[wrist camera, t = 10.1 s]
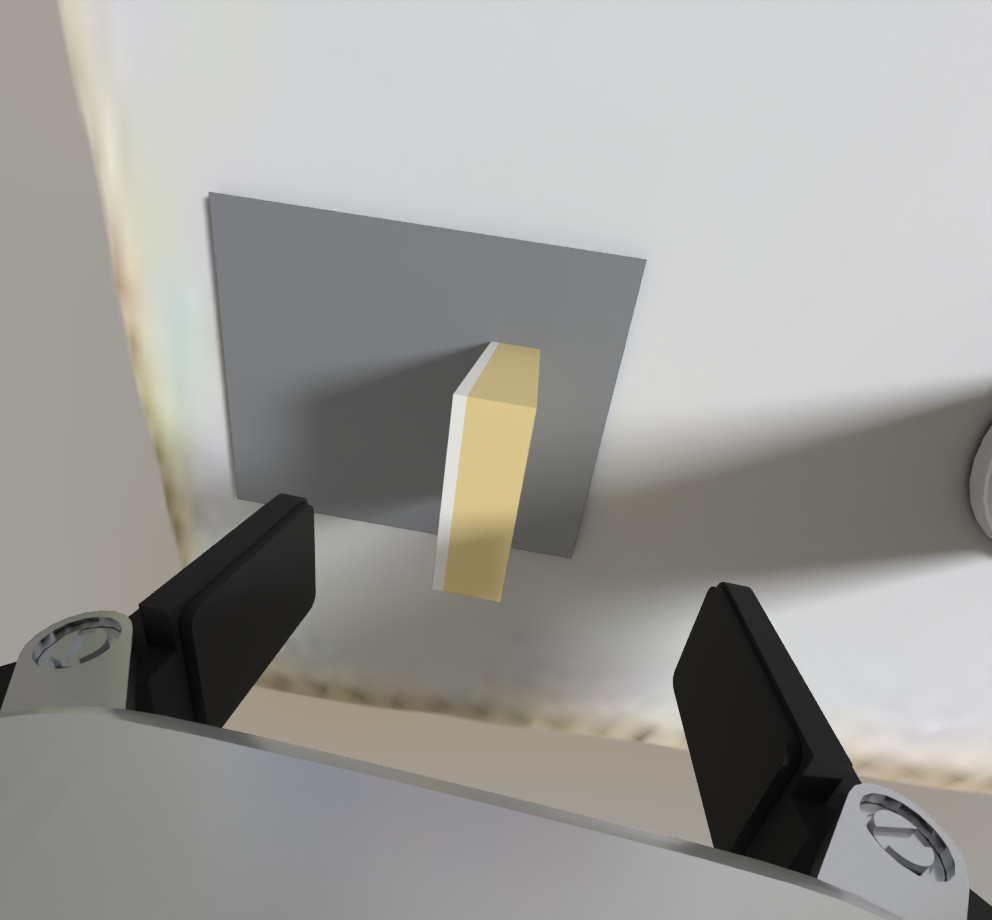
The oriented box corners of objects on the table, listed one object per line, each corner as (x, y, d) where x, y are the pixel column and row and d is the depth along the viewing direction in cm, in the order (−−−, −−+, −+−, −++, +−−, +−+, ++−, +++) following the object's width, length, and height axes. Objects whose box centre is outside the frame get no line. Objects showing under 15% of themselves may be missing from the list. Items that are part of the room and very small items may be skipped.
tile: (540, 349, 22) (536, 408, 13) (516, 478, 25) (500, 602, 16) (491, 341, 22) (453, 394, 13) (473, 471, 25) (431, 589, 16)
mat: (644, 259, 21) (646, 259, 20) (570, 552, 27) (571, 558, 27) (217, 193, 21) (208, 191, 21) (243, 494, 28) (237, 498, 27)
